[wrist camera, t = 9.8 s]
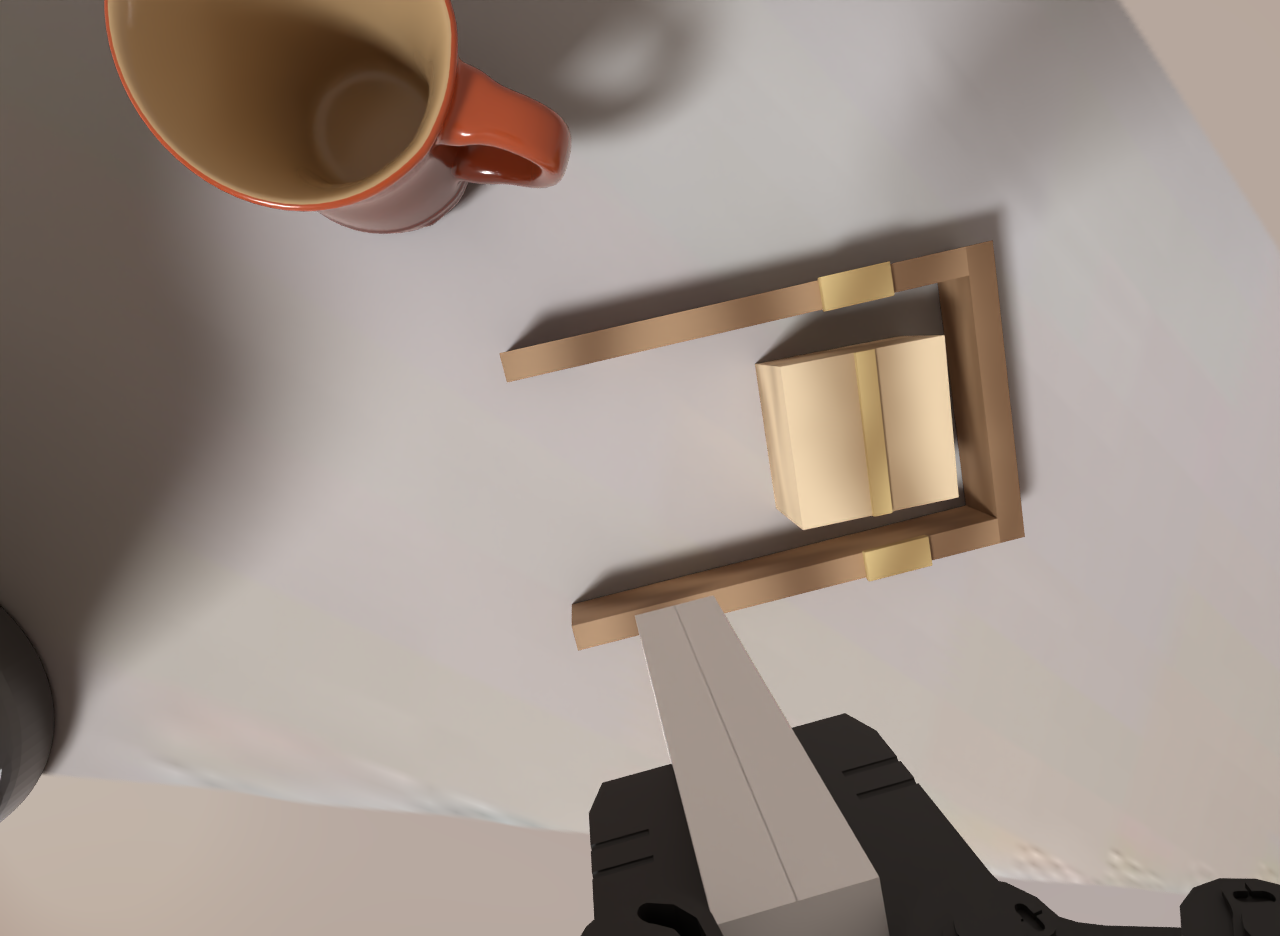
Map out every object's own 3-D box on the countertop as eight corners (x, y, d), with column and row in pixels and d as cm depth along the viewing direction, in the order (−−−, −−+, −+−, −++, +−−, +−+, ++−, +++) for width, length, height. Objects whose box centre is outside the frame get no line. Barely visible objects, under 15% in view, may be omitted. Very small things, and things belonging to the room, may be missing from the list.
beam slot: (578, 629, 32) (578, 655, 29) (505, 350, 29) (497, 351, 26) (991, 524, 33) (1029, 540, 30) (958, 246, 30) (996, 236, 27)
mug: (260, 221, 27) (77, 149, 17) (303, -3, 26) (131, -222, 16) (543, 306, 29) (527, 286, 19) (597, 100, 28) (611, -38, 18)
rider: (774, 507, 32) (804, 531, 28) (753, 363, 31) (781, 366, 26) (911, 478, 32) (961, 498, 28) (897, 336, 31) (947, 334, 27)
